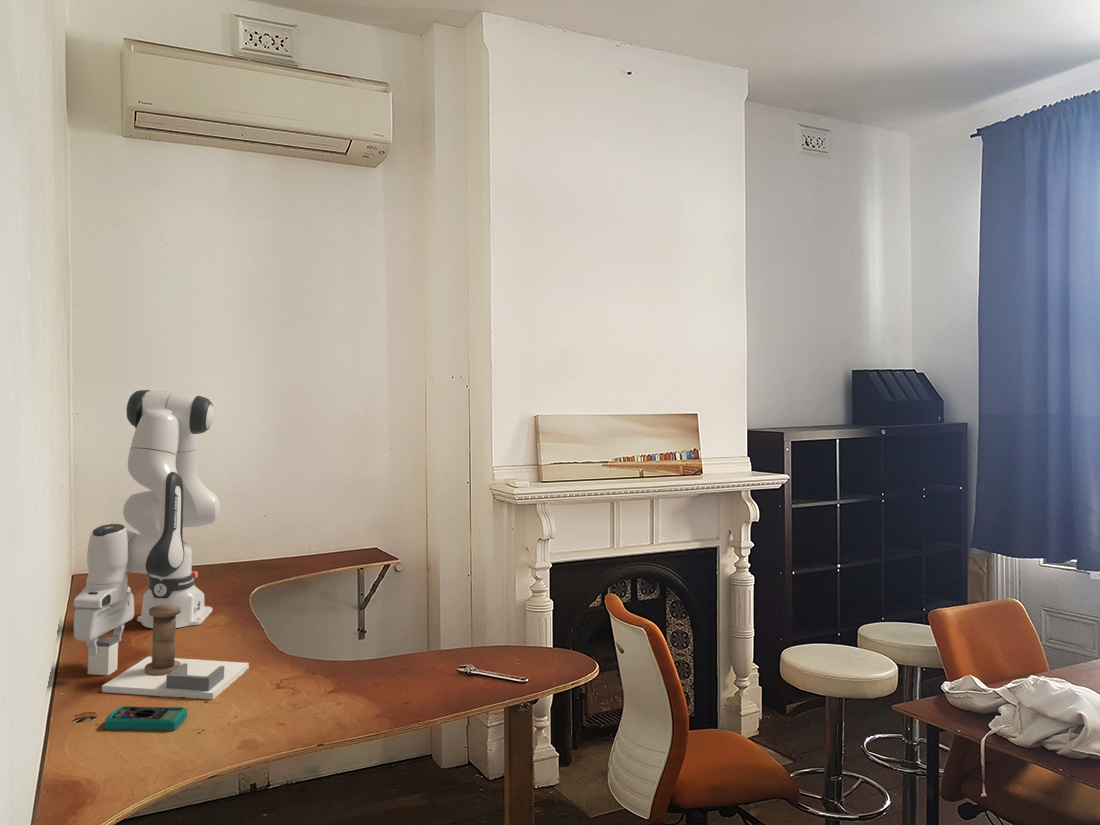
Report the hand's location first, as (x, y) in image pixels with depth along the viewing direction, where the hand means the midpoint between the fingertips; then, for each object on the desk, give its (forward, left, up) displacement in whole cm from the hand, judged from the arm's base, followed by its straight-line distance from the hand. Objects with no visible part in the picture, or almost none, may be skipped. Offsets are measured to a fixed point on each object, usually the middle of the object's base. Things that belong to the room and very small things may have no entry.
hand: (105, 648), depth 199 cm
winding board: (+1, +19, -6) cm, 20 cm away
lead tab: (-1, -1, -6) cm, 6 cm away
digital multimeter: (+26, +24, -7) cm, 36 cm away
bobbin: (0, +14, -4) cm, 15 cm away
